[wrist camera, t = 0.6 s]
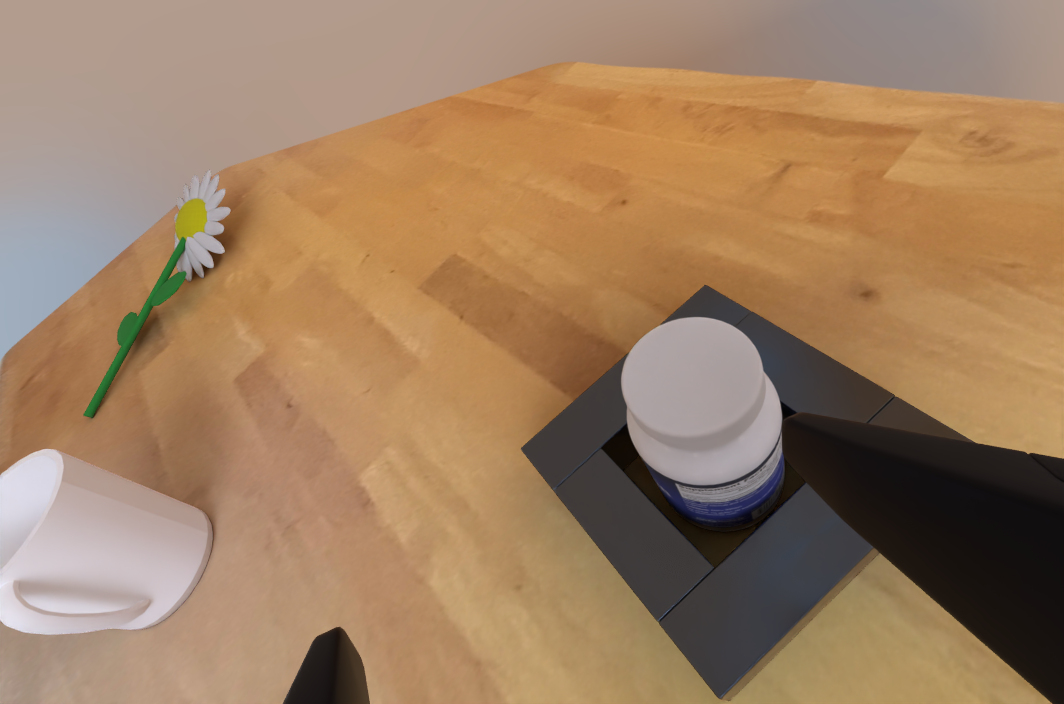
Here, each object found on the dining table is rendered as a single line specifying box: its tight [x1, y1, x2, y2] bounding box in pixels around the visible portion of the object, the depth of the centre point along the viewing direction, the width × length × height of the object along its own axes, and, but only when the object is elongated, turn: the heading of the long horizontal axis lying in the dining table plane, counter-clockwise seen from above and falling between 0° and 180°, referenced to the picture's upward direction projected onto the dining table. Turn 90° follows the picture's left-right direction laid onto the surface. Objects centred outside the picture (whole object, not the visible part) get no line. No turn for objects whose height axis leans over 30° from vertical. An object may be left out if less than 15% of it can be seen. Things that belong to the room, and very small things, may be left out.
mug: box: [0, 449, 213, 635], centre depth 31 cm, size 11×9×10 cm
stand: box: [521, 285, 975, 701], centre depth 23 cm, size 13×13×4 cm
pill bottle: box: [621, 317, 785, 532], centre depth 21 cm, size 6×6×10 cm
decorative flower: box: [84, 170, 231, 418], centre depth 57 cm, size 13×5×30 cm
